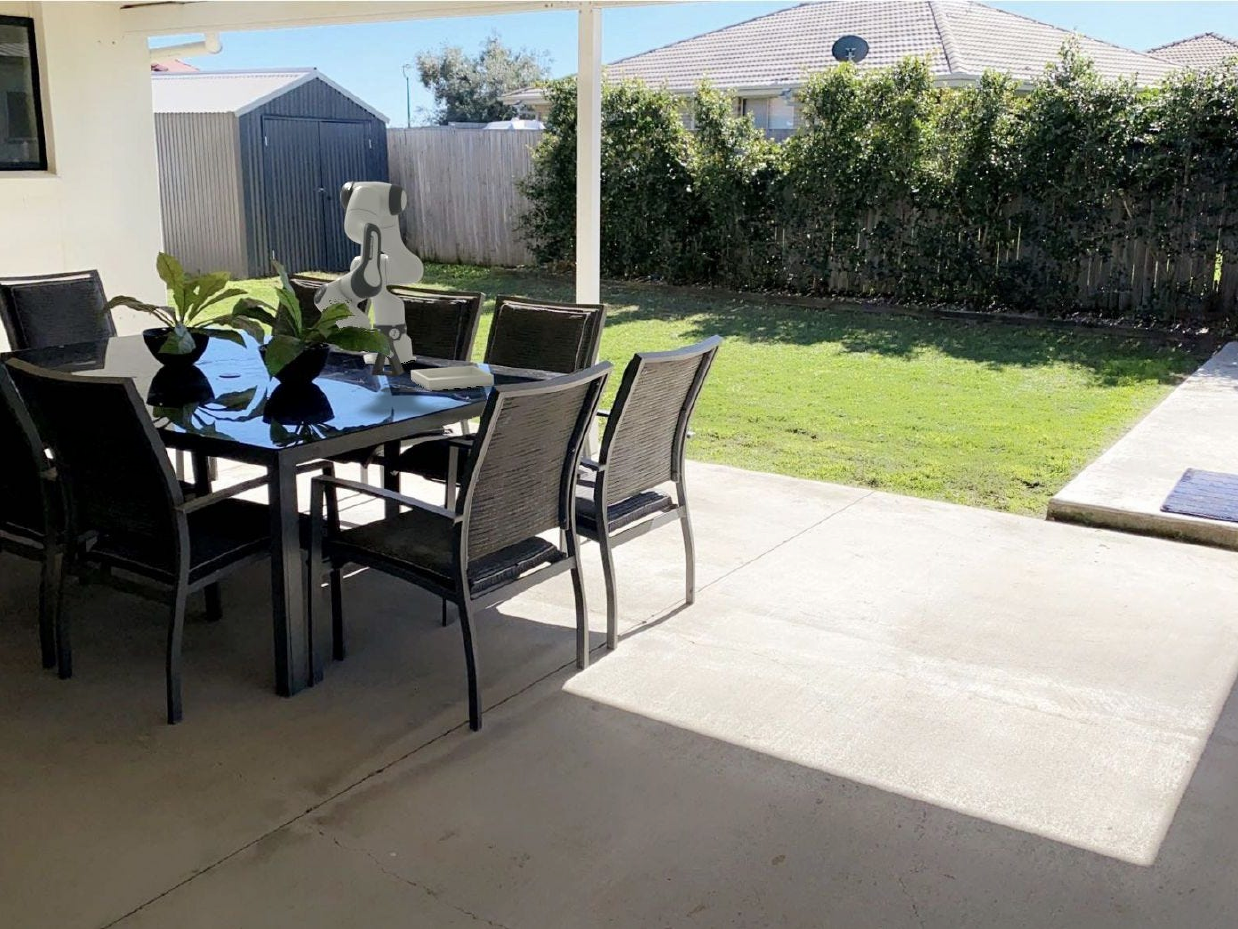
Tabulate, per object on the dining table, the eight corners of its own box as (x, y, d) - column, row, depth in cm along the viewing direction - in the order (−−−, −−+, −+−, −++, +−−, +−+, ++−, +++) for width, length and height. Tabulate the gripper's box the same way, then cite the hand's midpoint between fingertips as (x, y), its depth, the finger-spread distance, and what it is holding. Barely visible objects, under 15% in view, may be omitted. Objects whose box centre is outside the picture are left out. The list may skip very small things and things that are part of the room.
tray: (411, 380, 389) (410, 370, 388) (473, 375, 398) (473, 365, 397) (429, 391, 372) (428, 380, 371) (493, 385, 381) (493, 375, 380)
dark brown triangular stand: (404, 372, 379) (402, 336, 376) (398, 376, 374) (396, 339, 370) (377, 371, 381) (375, 335, 377) (371, 375, 375) (369, 338, 372)
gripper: (372, 322, 360) (404, 351, 367) (356, 314, 378) (386, 341, 385) (358, 338, 359) (391, 366, 366) (343, 328, 377) (374, 356, 384)
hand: (388, 353), depth 376 cm, fingers closed on dark brown triangular stand, 6 cm apart
